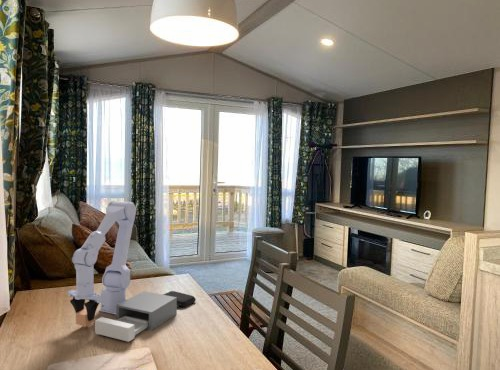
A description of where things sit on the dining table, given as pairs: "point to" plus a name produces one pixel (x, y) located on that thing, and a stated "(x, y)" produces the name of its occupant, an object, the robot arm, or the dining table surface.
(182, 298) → the carrying case or bag
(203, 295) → the dining table surface
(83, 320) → the block
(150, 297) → the housing
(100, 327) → the tray
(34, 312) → the dining table surface
